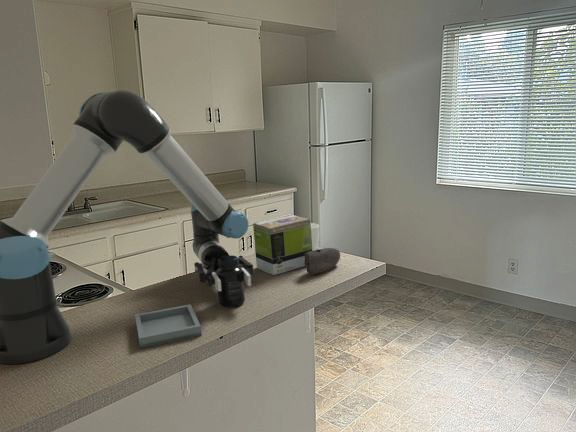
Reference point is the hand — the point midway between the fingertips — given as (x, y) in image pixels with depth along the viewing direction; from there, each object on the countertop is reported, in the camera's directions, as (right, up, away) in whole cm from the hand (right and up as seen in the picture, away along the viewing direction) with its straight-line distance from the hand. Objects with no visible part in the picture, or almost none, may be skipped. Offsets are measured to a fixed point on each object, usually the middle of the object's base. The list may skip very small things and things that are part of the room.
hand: (234, 283), depth 115 cm
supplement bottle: (-1, -6, +6) cm, 9 cm away
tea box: (+12, 0, +32) cm, 34 cm away
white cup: (+20, +3, +42) cm, 47 cm away
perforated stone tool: (+24, 0, +27) cm, 36 cm away
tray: (-14, -10, -7) cm, 19 cm away
